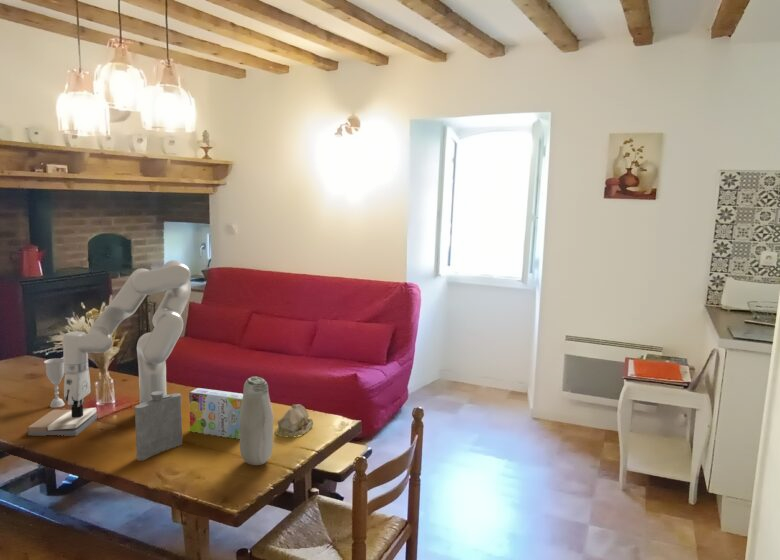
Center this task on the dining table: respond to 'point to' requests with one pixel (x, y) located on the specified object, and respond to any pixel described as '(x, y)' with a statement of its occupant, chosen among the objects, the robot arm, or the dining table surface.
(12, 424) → the dining table surface
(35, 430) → the floor sample board
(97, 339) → the robot arm
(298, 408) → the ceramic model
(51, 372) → the chalice
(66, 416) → the pale plank
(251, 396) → the pale grey bottle
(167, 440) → the hip flask
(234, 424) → the snack box
